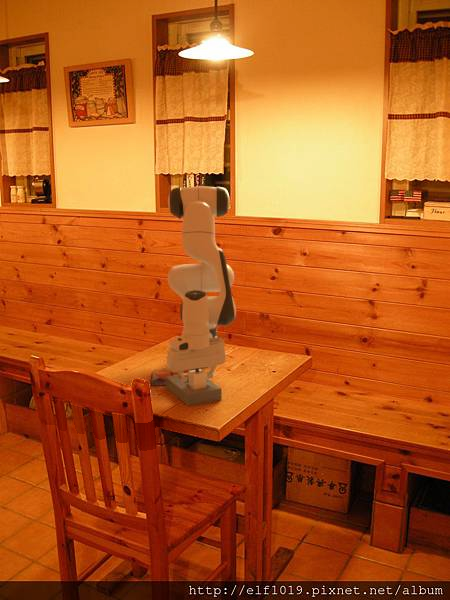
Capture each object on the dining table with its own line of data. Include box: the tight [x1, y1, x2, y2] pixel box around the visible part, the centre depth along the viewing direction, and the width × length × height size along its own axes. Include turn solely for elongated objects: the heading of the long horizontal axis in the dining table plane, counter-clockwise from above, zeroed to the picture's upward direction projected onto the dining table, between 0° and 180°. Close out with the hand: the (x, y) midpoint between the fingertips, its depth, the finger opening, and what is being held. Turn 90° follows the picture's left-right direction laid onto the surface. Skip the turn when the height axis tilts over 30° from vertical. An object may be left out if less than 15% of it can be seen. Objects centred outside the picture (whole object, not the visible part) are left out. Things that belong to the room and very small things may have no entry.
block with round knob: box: [188, 368, 207, 390], centre depth 208 cm, size 4×4×10 cm
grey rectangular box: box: [165, 372, 222, 407], centre depth 212 cm, size 20×12×5 cm, turn 27°
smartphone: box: [150, 369, 173, 387], centre depth 227 cm, size 7×15×1 cm, turn 4°
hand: (197, 380), depth 208 cm, fingers open, 8 cm apart
